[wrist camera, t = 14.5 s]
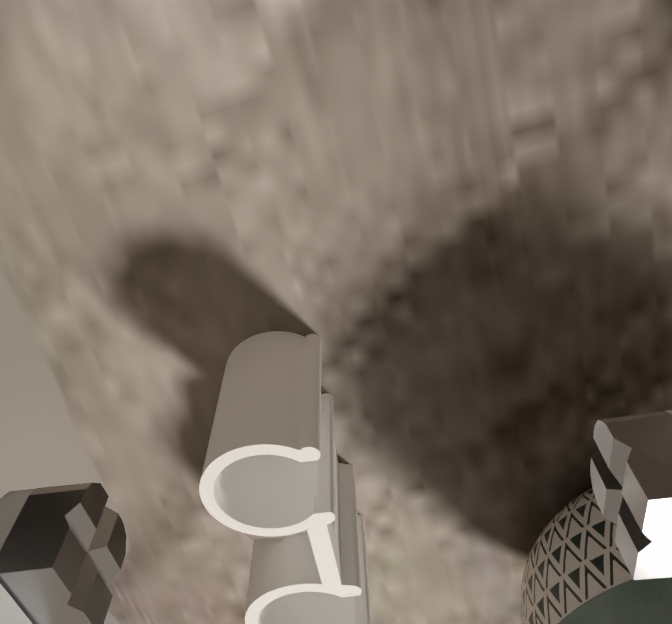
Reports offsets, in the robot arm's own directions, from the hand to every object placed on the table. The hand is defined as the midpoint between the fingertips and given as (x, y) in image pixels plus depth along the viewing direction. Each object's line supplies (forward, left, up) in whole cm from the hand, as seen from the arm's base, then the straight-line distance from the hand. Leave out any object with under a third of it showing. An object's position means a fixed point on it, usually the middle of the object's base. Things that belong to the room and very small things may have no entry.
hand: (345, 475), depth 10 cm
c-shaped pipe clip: (+8, +30, -32) cm, 45 cm away
